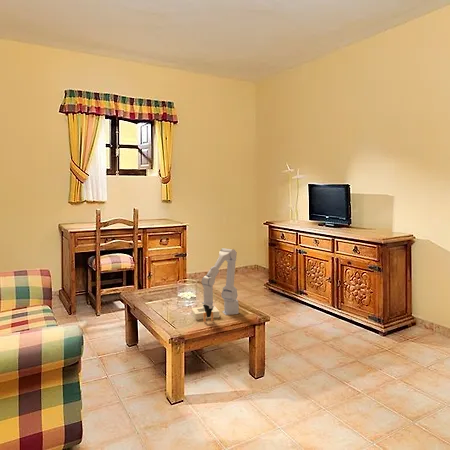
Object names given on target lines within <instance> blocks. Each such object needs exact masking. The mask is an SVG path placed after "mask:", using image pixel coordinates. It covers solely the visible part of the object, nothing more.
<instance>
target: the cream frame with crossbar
mask: <svg viewBox="0 0 450 450" xmlns="http://www.w3.org/2000/svg"><path fill="white" fill-rule="evenodd" d="M213 306H214V307H213V309H212V312H213V319H215V318H220V315H221V314H220V310H219V309H218V308H217V307H216V306H215V305H213ZM203 313H205V308H204V306H203V305H202V306H201V307H191V315H192V318H194V320H195V321H197V320H204V314H203ZM208 319H211V316H210V317H207V316H206V320H208Z"/></svg>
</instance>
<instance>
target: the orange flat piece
mask: <svg viewBox="0 0 450 450" xmlns="http://www.w3.org/2000/svg"><path fill="white" fill-rule="evenodd" d="M203 314H204V319H203V322H207V321H206V320H207V319H206V316H207V314H206V312H205V313H203ZM210 320H211V322H214V318H213V312H211V318H210Z"/></svg>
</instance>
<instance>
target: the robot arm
mask: <svg viewBox="0 0 450 450" xmlns="http://www.w3.org/2000/svg"><path fill="white" fill-rule="evenodd" d="M225 261H226V263H227V266H226V279H225V285H224V286H223V287H222V290H221V294H220V295H221V298H222V300H223V310H221V312H222V313H223V314H224V315H225V316H230V315H238V314H240V312H239V307H240V306H239V300H238V296H239V295H238V289H237V288H236V286H235V274H236V261H237V250H236V249H234V248H233V249H231V248H225V247H222V248H220V250H219V252H218V258H217V260H216V261H215V263H214V266H213V265H212V266H210V269H209V270H208V271H207V273H206V275H204V276H203V277H202V278H201V282H200V283H201V285H202V288H203V301H202V302H201V304H202V306H204V308H205V312H206V314H207V317H210V316H211V312H212V309H213V307H214V306H215V305H213V304H214V296H213V294H214V291H213V290H214V287H213V286H214V285H215V283H216V282H215V281H216V278H217V276H218V274H219V273H220V270H219V269H220V268H221V266H222V265H223V263H225Z"/></svg>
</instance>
